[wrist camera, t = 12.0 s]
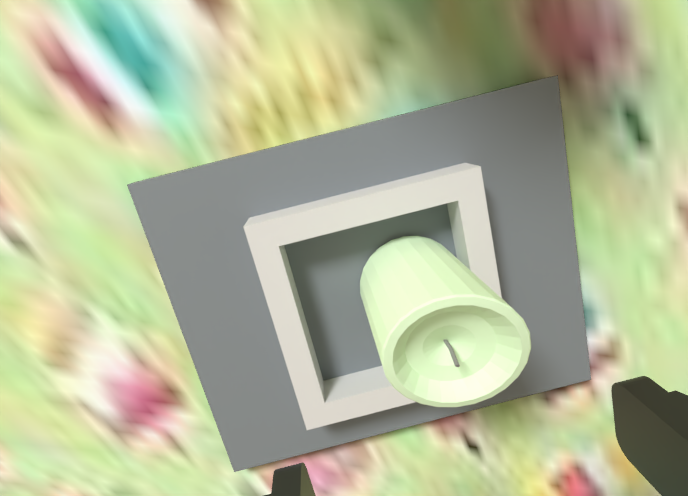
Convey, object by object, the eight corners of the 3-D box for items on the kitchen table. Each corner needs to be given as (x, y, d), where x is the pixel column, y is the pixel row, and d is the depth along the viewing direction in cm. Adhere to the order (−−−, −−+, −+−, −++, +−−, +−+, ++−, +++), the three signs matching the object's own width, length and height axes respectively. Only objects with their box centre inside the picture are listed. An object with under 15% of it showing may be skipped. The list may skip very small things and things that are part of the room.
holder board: (546, 77, 22) (583, 70, 19) (580, 369, 26) (614, 400, 23) (135, 182, 22) (108, 191, 19) (237, 458, 26) (228, 500, 23)
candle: (434, 342, 24) (497, 450, 16) (344, 312, 23) (363, 410, 15) (475, 254, 23) (563, 323, 15) (382, 220, 22) (423, 273, 14)
